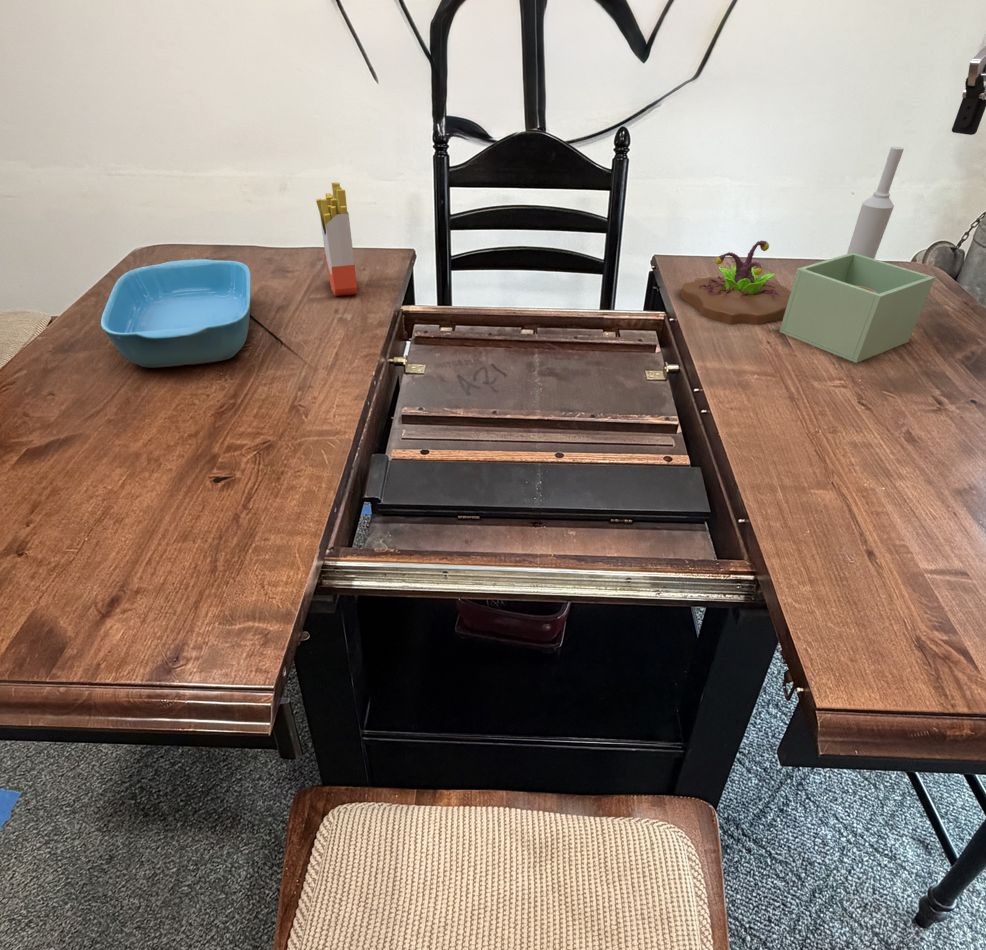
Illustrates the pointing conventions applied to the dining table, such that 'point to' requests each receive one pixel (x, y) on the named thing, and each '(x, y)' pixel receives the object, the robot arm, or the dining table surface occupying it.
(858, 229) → the bottle
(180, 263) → the casserole dish
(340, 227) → the french fries container
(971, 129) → the robot arm
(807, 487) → the dining table surface
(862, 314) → the bin
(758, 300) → the plant
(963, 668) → the dining table surface
